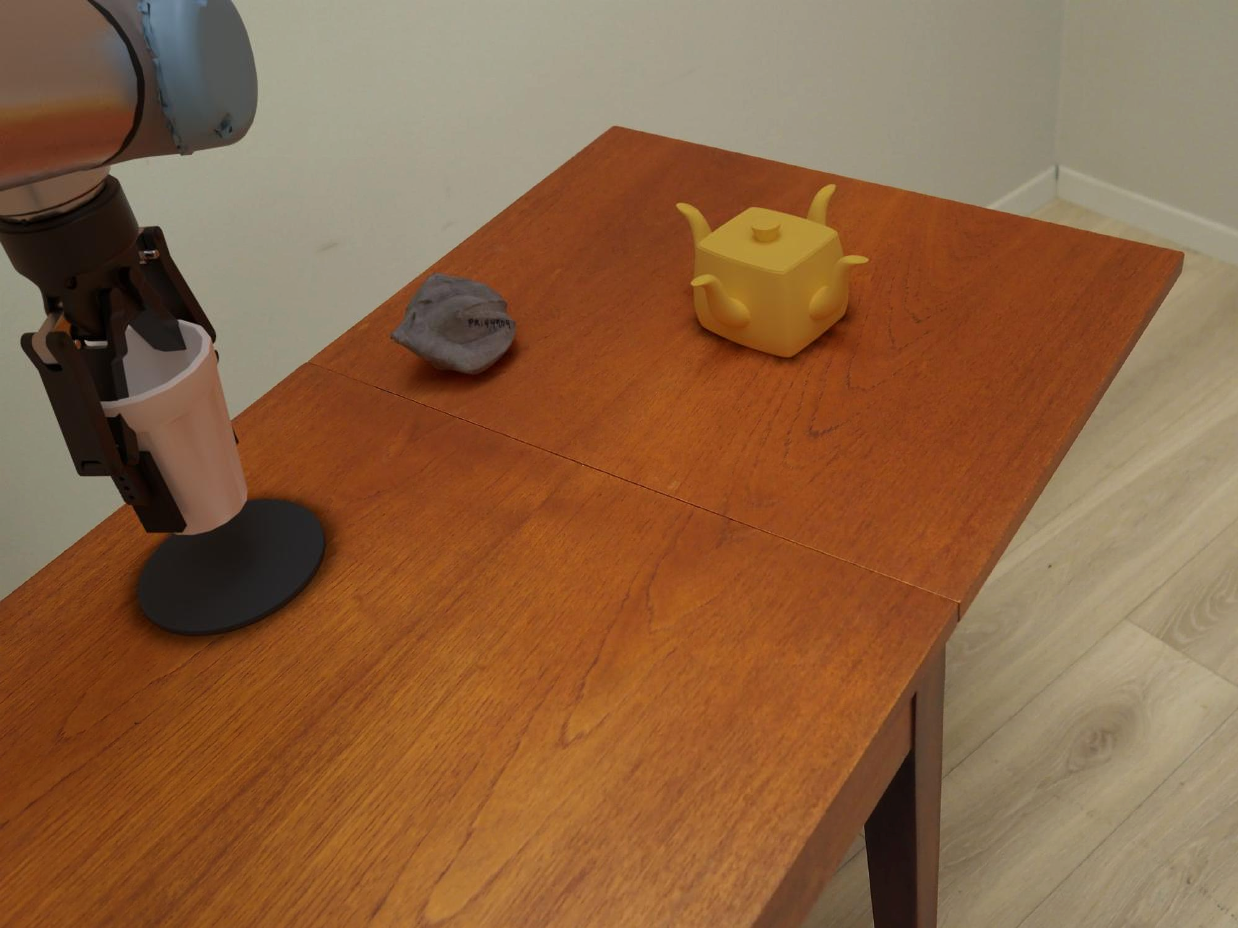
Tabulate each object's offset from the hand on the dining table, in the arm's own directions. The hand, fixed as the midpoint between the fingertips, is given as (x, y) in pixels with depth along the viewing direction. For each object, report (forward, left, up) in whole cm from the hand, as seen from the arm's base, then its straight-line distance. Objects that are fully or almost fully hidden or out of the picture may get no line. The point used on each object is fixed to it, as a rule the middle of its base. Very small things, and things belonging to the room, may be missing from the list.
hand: (194, 485), depth 83 cm
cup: (0, 0, -3) cm, 3 cm away
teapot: (+46, -18, -8) cm, 50 cm away
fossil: (+28, +3, -8) cm, 29 cm away
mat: (0, 0, -8) cm, 8 cm away
